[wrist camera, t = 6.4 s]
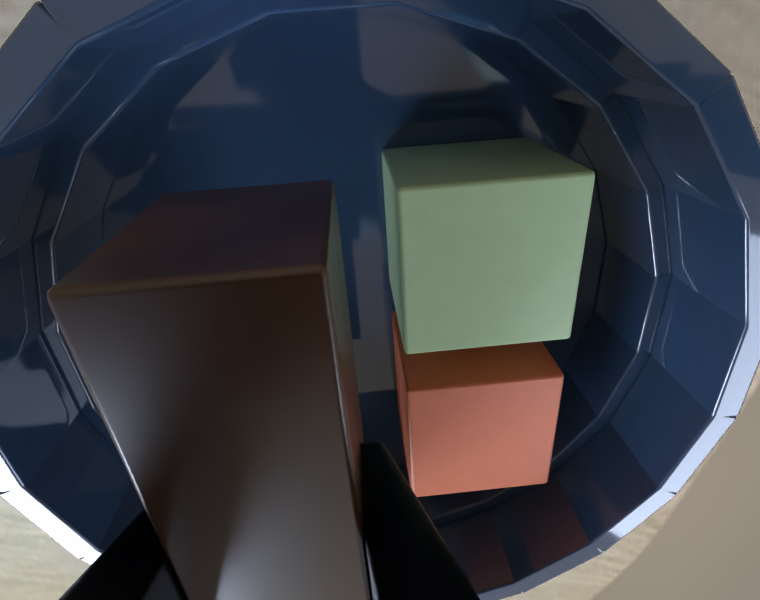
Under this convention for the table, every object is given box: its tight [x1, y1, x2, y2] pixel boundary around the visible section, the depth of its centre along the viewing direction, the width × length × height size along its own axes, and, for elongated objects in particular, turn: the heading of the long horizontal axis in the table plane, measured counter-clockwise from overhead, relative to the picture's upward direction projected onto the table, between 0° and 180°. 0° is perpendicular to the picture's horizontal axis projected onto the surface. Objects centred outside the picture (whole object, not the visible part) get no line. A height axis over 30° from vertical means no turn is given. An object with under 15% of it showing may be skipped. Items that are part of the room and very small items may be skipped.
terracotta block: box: [392, 311, 564, 497], centre depth 12 cm, size 4×4×4 cm
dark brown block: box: [47, 180, 372, 600], centre depth 7 cm, size 2×9×3 cm, turn 4°
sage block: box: [382, 137, 595, 354], centre depth 10 cm, size 4×4×4 cm
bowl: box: [0, 0, 760, 600], centre depth 11 cm, size 15×15×5 cm
